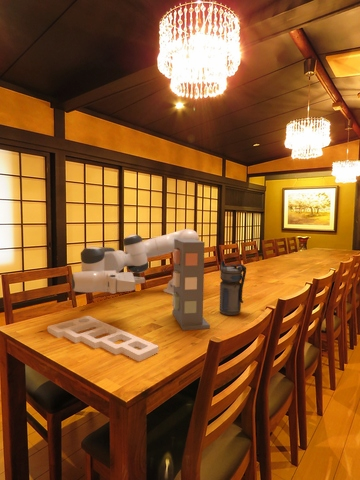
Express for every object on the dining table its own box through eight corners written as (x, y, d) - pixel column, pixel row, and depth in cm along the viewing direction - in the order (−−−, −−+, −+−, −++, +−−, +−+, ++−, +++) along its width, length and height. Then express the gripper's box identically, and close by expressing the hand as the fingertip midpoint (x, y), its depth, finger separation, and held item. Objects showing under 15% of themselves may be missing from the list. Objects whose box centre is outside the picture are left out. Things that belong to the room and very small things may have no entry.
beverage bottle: (239, 318, 136) (241, 265, 134) (214, 312, 144) (215, 262, 142) (248, 313, 144) (250, 262, 142) (224, 308, 152) (225, 259, 150)
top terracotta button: (175, 263, 127) (176, 250, 126) (173, 261, 132) (173, 249, 132) (189, 263, 128) (189, 250, 128) (186, 261, 133) (186, 249, 133)
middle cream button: (175, 286, 128) (175, 274, 127) (173, 283, 133) (173, 271, 133) (189, 286, 129) (189, 273, 128) (186, 283, 134) (186, 271, 134)
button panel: (182, 330, 121) (184, 242, 118) (172, 313, 143) (173, 238, 140) (209, 328, 124) (211, 242, 121) (195, 311, 145) (197, 238, 142)
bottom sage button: (175, 309, 128) (175, 296, 128) (172, 305, 134) (172, 293, 133) (188, 308, 130) (188, 296, 129) (185, 305, 135) (185, 293, 135)
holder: (159, 353, 101) (159, 346, 101) (115, 374, 88) (115, 365, 88) (87, 321, 131) (87, 315, 131) (47, 333, 118) (47, 326, 118)
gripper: (112, 282, 135) (142, 282, 138) (111, 294, 115) (147, 293, 118) (112, 269, 134) (142, 268, 137) (111, 278, 114) (147, 277, 117)
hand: (144, 280), depth 127 cm, fingers closed
